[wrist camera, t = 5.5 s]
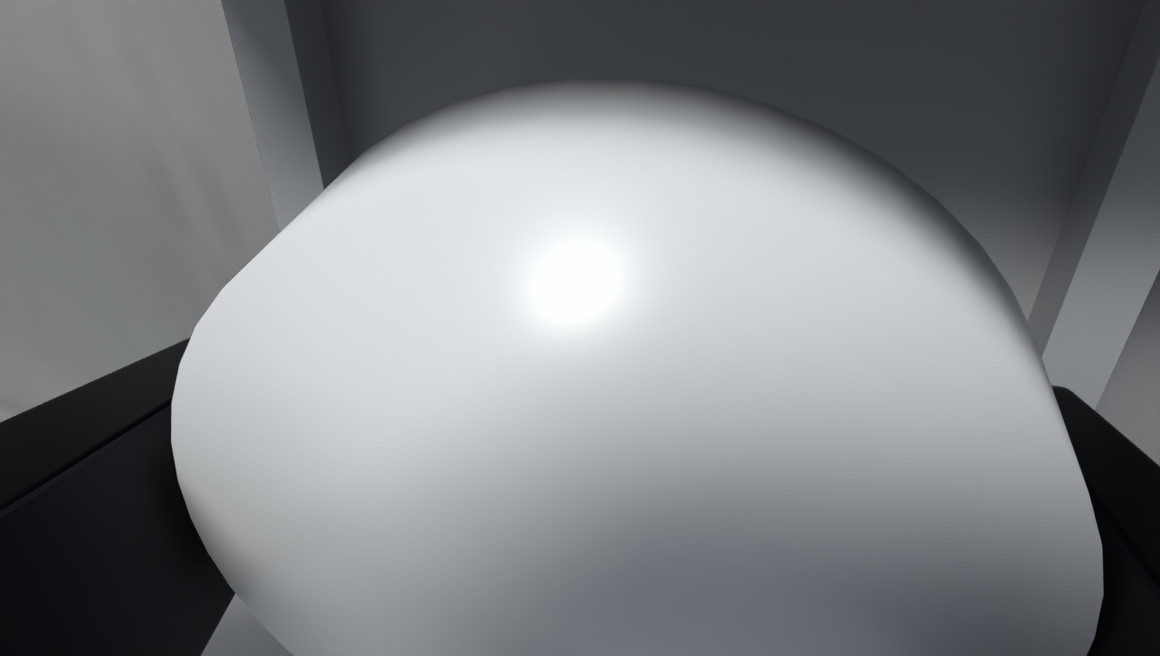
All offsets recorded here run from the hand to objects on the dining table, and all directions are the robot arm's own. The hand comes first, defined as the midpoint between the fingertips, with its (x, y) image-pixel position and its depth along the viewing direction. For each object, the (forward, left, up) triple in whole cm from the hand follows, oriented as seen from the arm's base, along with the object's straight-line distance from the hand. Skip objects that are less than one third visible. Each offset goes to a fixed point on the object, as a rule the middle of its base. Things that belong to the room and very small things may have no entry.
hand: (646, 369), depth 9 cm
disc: (0, 0, +1) cm, 1 cm away
